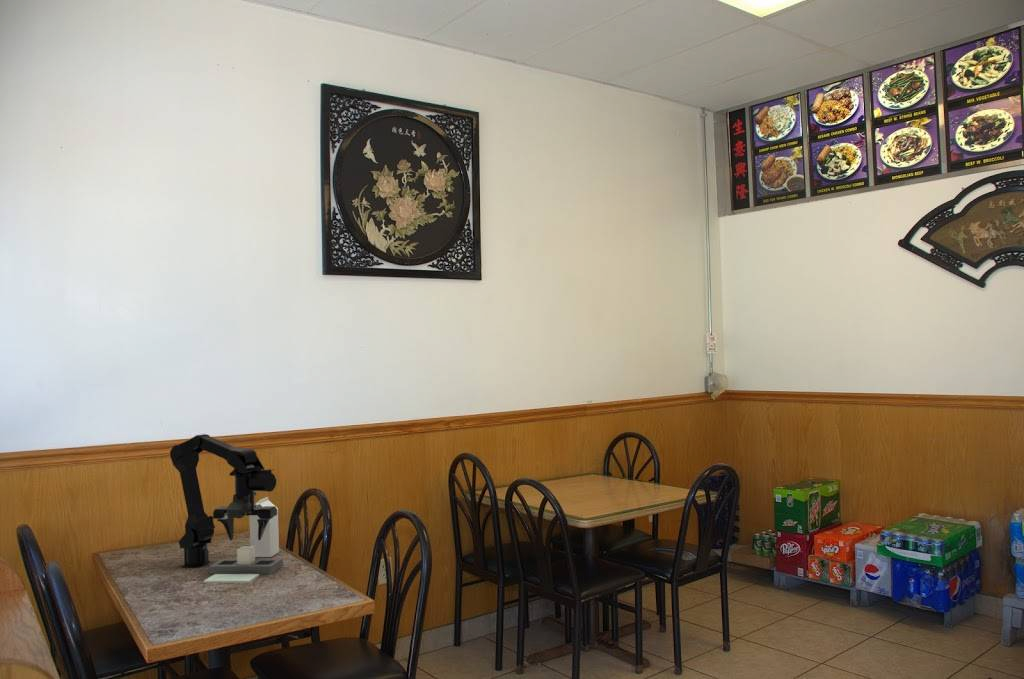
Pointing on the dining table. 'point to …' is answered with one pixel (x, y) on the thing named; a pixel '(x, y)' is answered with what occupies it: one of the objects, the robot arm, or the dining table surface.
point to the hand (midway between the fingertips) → (245, 540)
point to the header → (246, 567)
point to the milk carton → (270, 536)
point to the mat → (231, 578)
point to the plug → (246, 555)
